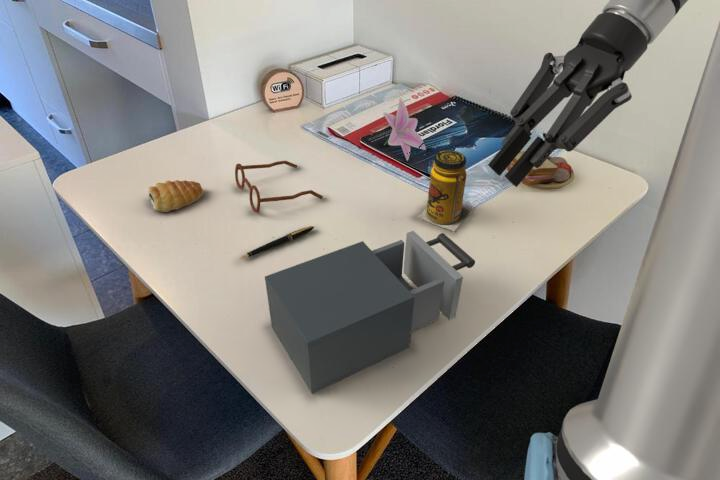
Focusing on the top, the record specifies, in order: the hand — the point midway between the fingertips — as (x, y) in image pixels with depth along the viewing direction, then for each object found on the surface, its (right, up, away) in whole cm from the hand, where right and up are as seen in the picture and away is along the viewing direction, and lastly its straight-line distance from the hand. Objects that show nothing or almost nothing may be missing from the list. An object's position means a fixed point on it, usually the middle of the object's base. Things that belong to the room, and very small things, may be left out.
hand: (502, 175), depth 70 cm
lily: (-10, +10, +42) cm, 44 cm away
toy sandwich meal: (+17, +4, +34) cm, 38 cm away
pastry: (-54, -2, +26) cm, 60 cm away
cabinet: (-22, -22, +1) cm, 31 cm away
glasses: (-35, 0, +29) cm, 45 cm away
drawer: (-13, -18, +5) cm, 22 cm away
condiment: (-4, -4, +24) cm, 25 cm away
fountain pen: (-33, -10, +17) cm, 38 cm away
